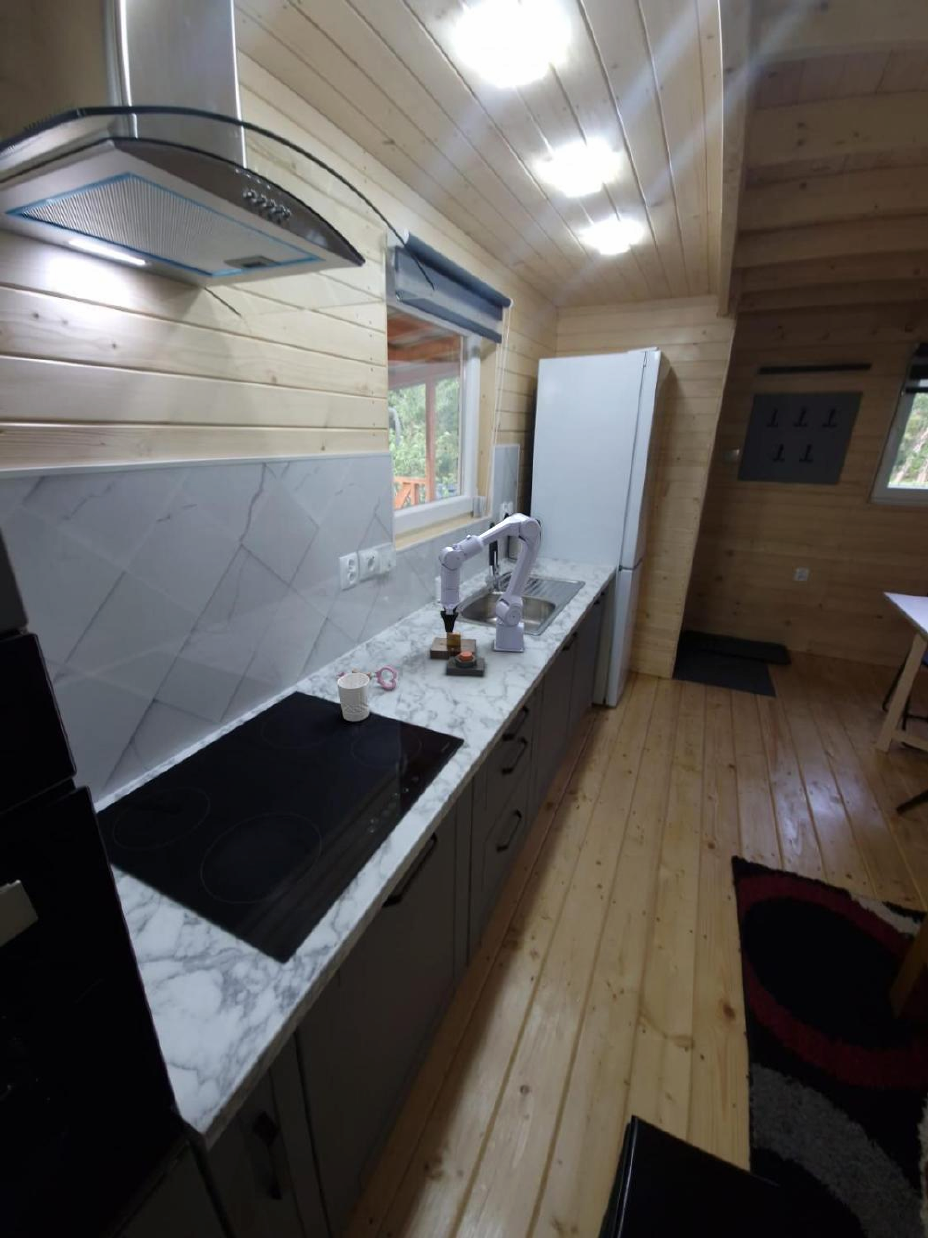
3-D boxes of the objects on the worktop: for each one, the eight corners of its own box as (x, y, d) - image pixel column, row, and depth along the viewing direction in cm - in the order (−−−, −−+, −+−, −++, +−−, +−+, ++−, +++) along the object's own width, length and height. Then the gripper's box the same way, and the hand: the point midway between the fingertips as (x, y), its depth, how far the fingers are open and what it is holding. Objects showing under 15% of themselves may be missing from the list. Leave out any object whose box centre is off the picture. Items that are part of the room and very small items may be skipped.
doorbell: (484, 664, 155) (484, 652, 153) (483, 676, 147) (483, 664, 146) (449, 662, 156) (449, 651, 154) (446, 674, 148) (446, 662, 147)
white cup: (377, 714, 128) (375, 680, 124) (352, 727, 123) (349, 691, 119) (359, 702, 133) (357, 670, 129) (334, 714, 127) (331, 680, 124)
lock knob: (461, 643, 161) (461, 631, 160) (460, 645, 160) (460, 633, 158) (447, 643, 162) (447, 631, 160) (446, 645, 160) (446, 633, 159)
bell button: (472, 656, 152) (472, 651, 151) (471, 661, 148) (471, 656, 148) (460, 655, 152) (460, 650, 151) (459, 661, 149) (459, 655, 148)
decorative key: (340, 685, 147) (399, 687, 140) (337, 687, 146) (397, 689, 139) (335, 664, 145) (395, 666, 138) (332, 666, 144) (393, 667, 137)
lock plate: (476, 647, 166) (476, 638, 165) (473, 660, 157) (474, 651, 156) (434, 645, 167) (434, 636, 166) (430, 658, 158) (430, 649, 157)
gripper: (438, 579, 159) (438, 618, 164) (436, 594, 145) (435, 636, 150) (460, 580, 159) (459, 619, 164) (460, 594, 145) (458, 636, 150)
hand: (449, 627), depth 157 cm, fingers open, 7 cm apart
